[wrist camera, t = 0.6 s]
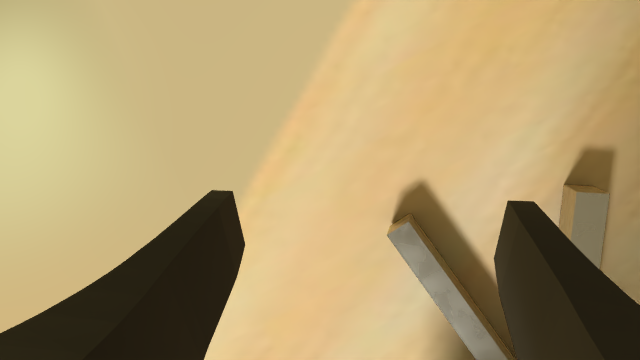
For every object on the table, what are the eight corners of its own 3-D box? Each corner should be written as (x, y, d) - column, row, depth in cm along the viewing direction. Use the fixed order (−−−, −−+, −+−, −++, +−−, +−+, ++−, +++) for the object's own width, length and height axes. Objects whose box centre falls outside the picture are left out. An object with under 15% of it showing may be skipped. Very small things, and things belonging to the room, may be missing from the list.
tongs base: (564, 416, 32) (580, 452, 28) (497, 404, 33) (504, 438, 29) (593, 186, 29) (614, 196, 25) (519, 182, 30) (530, 191, 27)
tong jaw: (551, 398, 31) (562, 423, 29) (516, 413, 32) (523, 439, 30) (415, 209, 32) (414, 217, 29) (384, 229, 33) (380, 239, 30)
